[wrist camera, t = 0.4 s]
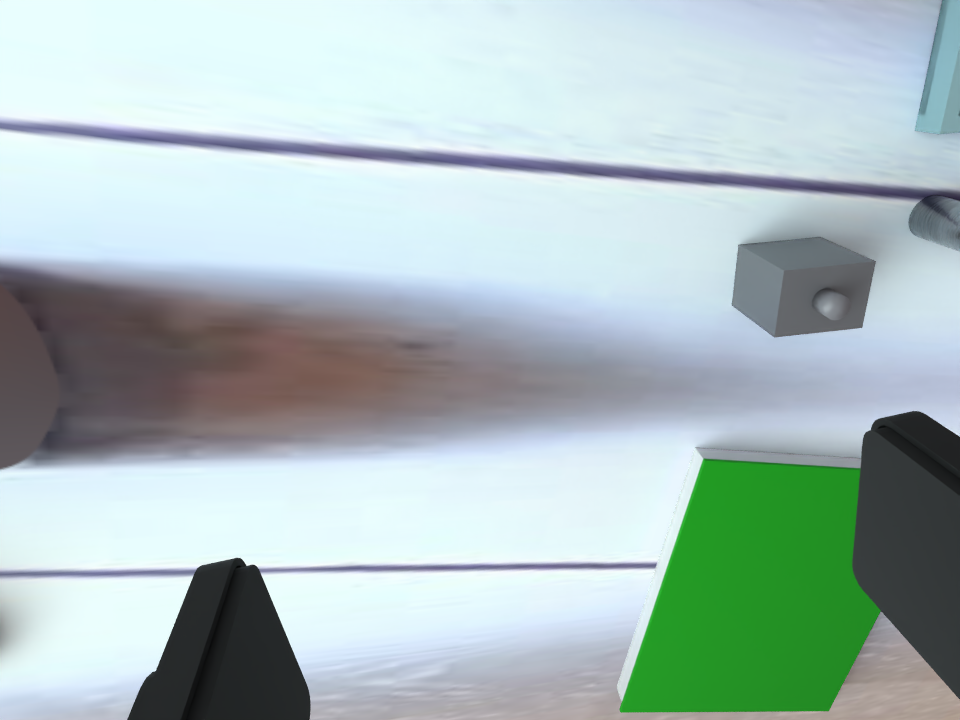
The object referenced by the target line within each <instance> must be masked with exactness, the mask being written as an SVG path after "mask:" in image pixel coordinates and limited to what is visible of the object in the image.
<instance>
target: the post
mask: <svg viewBox="0 0 960 720" xmlns="http://www.w3.org/2000/svg"><path fill="white" fill-rule="evenodd" d="M909 228H910V230H911V232H912V233H913V234H914V235H915V236H918V237H920V238H923V239H926V240H929V241H932V242H935V243H937V244H940V245H943V246H946V247H949V248H952V249H954V250H957V251H960V201H958V200H955V199H951V198H947V197H943V196H940V195H932V196H929V197H926V198H924V199H923V200H921V201H920V202H919V203H918V204H917V205H916V206H915V207H914V209H913V210H912V212H911V215H910V218H909Z"/></svg>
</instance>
